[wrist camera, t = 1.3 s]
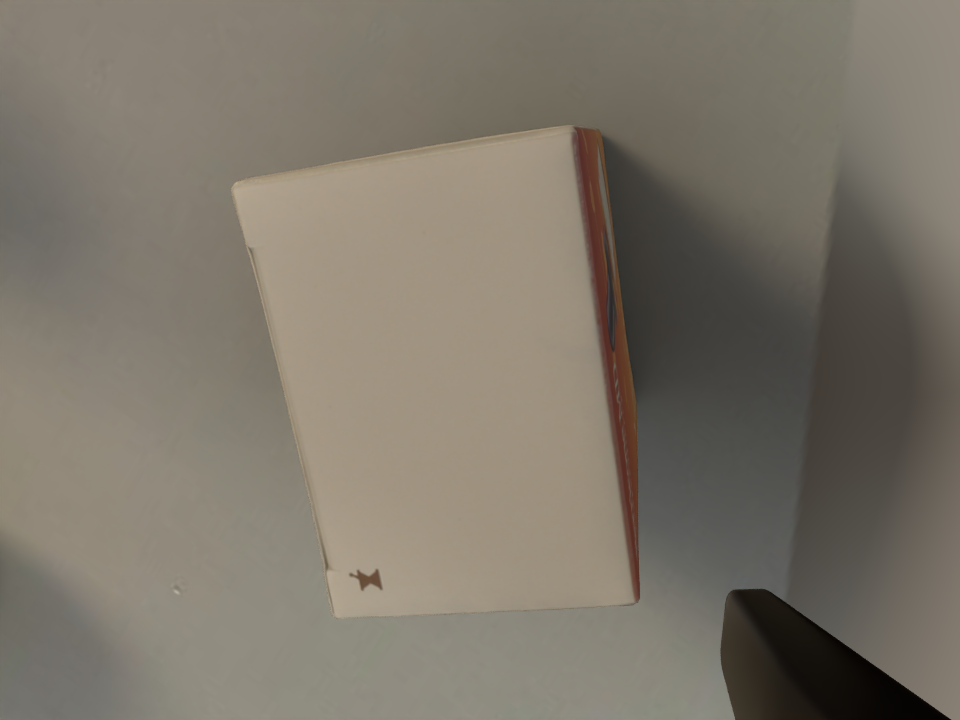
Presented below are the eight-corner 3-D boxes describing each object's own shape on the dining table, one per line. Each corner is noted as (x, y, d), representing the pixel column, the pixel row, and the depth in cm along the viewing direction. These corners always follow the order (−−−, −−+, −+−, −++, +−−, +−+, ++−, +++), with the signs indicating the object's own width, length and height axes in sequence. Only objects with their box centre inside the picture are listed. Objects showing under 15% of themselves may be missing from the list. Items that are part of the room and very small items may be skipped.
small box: (638, 407, 23) (646, 622, 13) (451, 425, 24) (328, 634, 14) (604, 121, 21) (583, 118, 11) (402, 156, 22) (219, 180, 12)
